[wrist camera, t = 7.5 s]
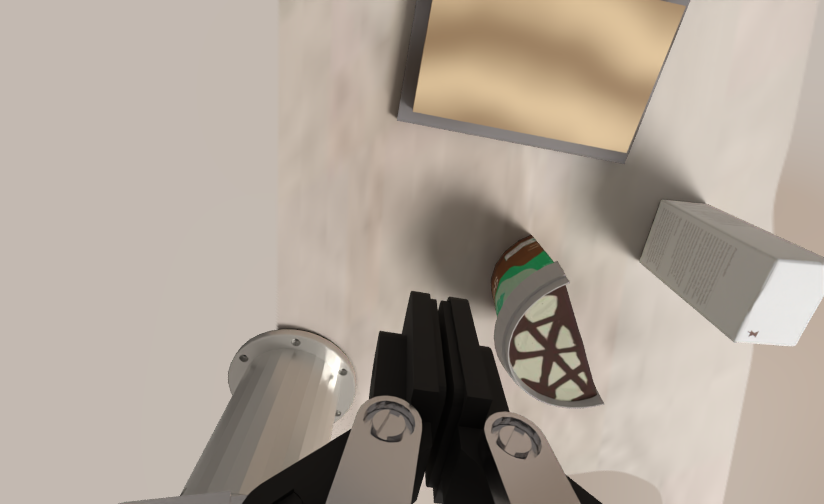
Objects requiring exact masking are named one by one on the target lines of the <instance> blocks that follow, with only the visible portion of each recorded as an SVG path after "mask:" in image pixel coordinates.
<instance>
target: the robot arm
mask: <svg viewBox="0 0 824 504" xmlns="http://www.w3.org/2000/svg"><path fill="white" fill-rule="evenodd" d="M228 383H229V387H230V391H231V393H232V395H233V396H232V398H231V400H230V402H229V403H228V405H227V407H226V410H225V411H224V413H223V415H222V417H221V419H220V421H219V423H218V424H217V426H216V428H215V430H214V432H213V434H212V436H211V438H210V440H209V442H208V443H207V445H206V448H205V449H204V451H203V453H202V455H201V457H200V459H199V461H198V462H197V464H196V466H195V468H194V470H193V472H192V474H191V476H190V478H189V480H188V481H187V483H186V485H185V487H184V489H183V491H182V493H181V495H180V496H178V497H168V498H159V499H150V500H141V501H132V502H124V503H120V504H413V503H414V502H415V501H416V500H417V497H418V493H419V490H420V486H421V483H422V480H423V477H424V473H425V478H426V486H427V487H431V488H433V495H434V503H439V504H602V503H601V502H599V501H598V500H597V499H596V498H594V497H593V496H592V495H591V494H589V493H588V492H587V491H586V490H584V489H583V488H582V487H581V486H579V485H578V484H577V483H576V482H574V481H573V480H572V479H570V478H569V477H568V476H567V475H565V473H564V471H563V469H562V467H561V465H560V464H559V462H558V460H557V458H556V456H555V454H554V452H553V450H552V448H551V446H550V445H549V443H548V441H547V439H546V437H545V435H544V434H543V433H542V431H541V430H540V429H539V428H538V427H537V426H536V425H535V424H534V423H533V422H532V421H530V420H528V419H527V418H525V417H524V416H521V415H518V414H516V413H511V412H509V408H508V405H507V402H506V398H505V395H504V391H503V388H502V384H501V381H500V377H499V374H498V370H497V367H496V363H495V360H494V356H493V353H492V350H491V348H489V347H485V346H479V342H478V338H477V334H476V330H475V326H474V322H473V318H472V314H471V310H470V306H469V302H468V300H466V299H460V298H454V297H449V298H448V299H447V301H441V302H440V305H439V309H437V301H436V300H435V299H431V298H430V294H428V293H422V292H415V291H411V293H410V297H409V302H408V307H407V311H406V316H405V321H404V326H403V330H402V334H397V333H391V332H384V331H380V332H379V336H378V341H377V347H376V352H375V358H374V364H373V371H372V378H371V386H370V394H369V400H367V401H366V402H365V403H364V404H362V405H361V407H360V409H359V410H358V412H357V415H356V417H355V420H354V423H353V426H352V429H350V430H349V431H347V432H345V433H344V434H342V435H340V436H339V437H337V438H335V439H334V440H332V441H330V438H331V433H332V428H333V424H334V423H335V422H336V421H338V420H339V419H341V418H342V417H343V416H344V415H345V414H346V413H347V412H348V410H349V409H350V407H351V405H352V403H353V400H354V397H355V392H356V385H357V384H356V374H355V371H354V368H353V366H352V364H351V362H350V361H349V359H348V357H347V356H346V355H345V354H344V353H343V352H342V351H341V349H339V348H338V347H337V346H336V345H334V344H333V343H332V342H330V341H328V340H326V339H325V338H323V337H321V336H318V335H316V334H313V333H310V332H306V331H301V330H293V329H281V330H274V331H269V332H265V333H262V334H259V335H257V336H255V337H254V338H252V339H250V340H249V341H247V342H246V343H245V344H244V345H243V346H242V347H241V348H240V349H239V351H238V352H237V353H236V355H235V357H234V359H233V360H232V362H231V365H230V368H229V372H228Z"/></svg>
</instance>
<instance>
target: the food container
mask: <svg viewBox="0 0 824 504" xmlns="http://www.w3.org/2000/svg"><path fill="white" fill-rule="evenodd" d="M569 283H570V282H569V280H568V279H567V277H566V275H565V273H564V271H563V269H562V268H561V266H560V264H559V263H558V261H556V262H553V260H552V259H551V258H550V257H549V255H548V254H547V253H546V252H545V251H544V249H543V248H542V247H541V246H540V244H539V243H538V242H537V241H536V240H535V238H534V237H533V236H532V235H530V236H528V237H526V238H524V239H521V240H519V241H518V242H517V243H515V244H514V245H513V246H512V247H510V248H509V249H508V250H506V251H505V252H504V254H503V255H502V257H501V258H500V259H499V261H498V262H497V264H496V265H495V268H494V271H493V275H492V278H491V291H492V295H493V300H494V304H495V309H496V314H497V320H496V324H495V330H494V343H495V349H496V352H497V356H498V358H499V360H500V362H501V364H502V365H503V367H504V368H505V370H506V371H507V373H508V374H509V376H510V377H511V378H512V379H513V381H514V382H515V383H516V384H517V385H518V386H519V387H520V388H521V389H522V390H524V391H525V392H526V393H527V394H529V395H530V396H532V397H533V398H535V399H537V400H538V401H541V402H543V403H546V404H548V405H552V406H556V407H562V408H588V407H595V406H599V405H604V402H603V401H602V399H601V397H600V395H599V393H598V391H597V390H596V387H595V385H594V382H593V379H592V375H591V372H590V368H589V364H588V361H587V357H586V353H585V349H584V345H583V341H582V338H581V335H580V332H579V329H578V326H577V322H576V319H575V316H574V312H573V309H572V305H571V302H570V299H569V295H568V292H567V288H566V284H569Z"/></svg>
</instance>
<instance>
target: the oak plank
mask: <svg viewBox="0 0 824 504" xmlns="http://www.w3.org/2000/svg"><path fill="white" fill-rule="evenodd" d="M685 8H686V6H683V5H679V4H675V3H670V2H666V1H661V0H432V3H431V9H430V14H429V20H428V26H427V31H426V37H425V42H424V48H423V54H422V59H421V65H420V71H419V76H418V82H417V88H416V93H415V99H414V105H413V112H417V113H422V114H427V115H433V116H438V117H443V118H448V119H453V120H458V121H464V122H469V123H474V124H479V125H484V126H489V127H494V128H500V129H505V130H510V131H515V132H520V133H525V134H531V135H536V136H541V137H546V138H551V139H556V140H562V141H567V142H572V143H577V144H582V145H587V146H593V147H598V148H603V149H608V150H613V151H618V152H624V153H627V151H628V149H629V146H630V144H631V141H632V139H633V136H634V134H635V131H636V129H637V126H638V124H639V121H640V119H641V116H642V114H643V112H644V109H645V107H646V104H647V102H648V99H649V97H650V94H651V92H652V89H653V87H654V84H655V82H656V79H657V77H658V74H659V72H660V70H661V67H662V65H663V62H664V60H665V57H666V55H667V52H668V50H669V47H670V45H671V42H672V40H673V37H674V35H675V33H676V30H677V28H678V25H679V23H680V20H681V18H682V15H683V13H684V10H685Z"/></svg>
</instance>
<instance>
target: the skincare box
mask: <svg viewBox="0 0 824 504" xmlns="http://www.w3.org/2000/svg"><path fill="white" fill-rule="evenodd" d="M639 262H640V263H641V264H642V265H643V266H644V267H646V268H647V269H648V270H649V271H650V272H652V273H653V274H654V275H655V276H656V277H657V278H659V279H660V280H661V281H662V282H663V283H665V284H666V285H667V286H668V287H669V288H670V289H672V290H673V291H674V292H675V293H676V294H678V295H679V296H680V297H681V298H682V299H683V300H685V301H686V302H687V303H688V304H689V305H691V306H692V307H693V308H694V309H695V310H697V311H698V312H699V313H700V314H701V315H702V316H704V317H705V318H706V319H707V320H708V321H710V322H711V323H712V324H713V325H714V326H715V327H717V328H718V329H719V330H720V331H721V332H722V333H724V334H725V335H726V336H727V337H728V338H729V339H731V340H732V341H733V342H735V343H754V344H768V345H781V346H795V345H796V344H797V342H798V340H799V339H800V337H801V334H802V333H803V331H804V329H805V328H806V326H807V324H808V322H809V321H810V319H811V317H812V315H813V314H814V312H815V310H816V309H817V307H818V305H819V303H820V302H821V300H822V298H823V296H824V257H822V256H820V255H818V254H816V253H814V252H811V251H809V250H807V249H805V248H803V247H800V246H798V245H796V244H794V243H791V242H790V241H787V240H785V239H783V238H781V237H778V236H776V235H774V234H772V233H770V232H767V231H765V230H763V229H761V228H759V227H757V226H754V225H752V224H750V223H748V222H746V221H744V220H741V219H739V218H737V217H735V216H732V215H730V214H728V213H726V212H724V211H722V210H719V209H717V208H715V207H713V206H711V205H709V204H704V203H692V202H683V201H673V200H661V202H660V205H659V208H658V211H657V214H656V216H655V219H654V222H653V225H652V228H651V230H650V233H649V236H648V239H647V241H646V244H645V247H644V250H643V253H642V255H641V258H640V261H639Z"/></svg>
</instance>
